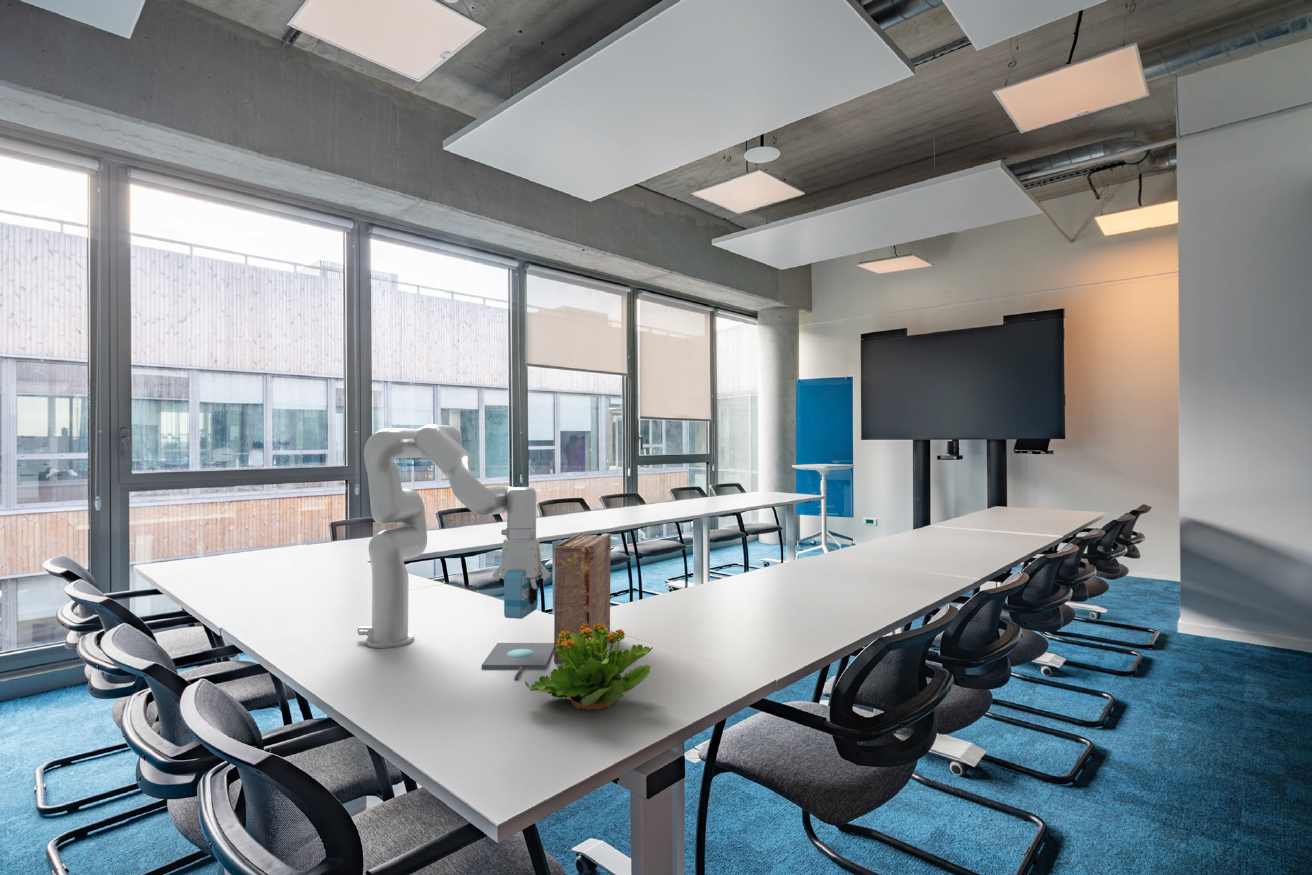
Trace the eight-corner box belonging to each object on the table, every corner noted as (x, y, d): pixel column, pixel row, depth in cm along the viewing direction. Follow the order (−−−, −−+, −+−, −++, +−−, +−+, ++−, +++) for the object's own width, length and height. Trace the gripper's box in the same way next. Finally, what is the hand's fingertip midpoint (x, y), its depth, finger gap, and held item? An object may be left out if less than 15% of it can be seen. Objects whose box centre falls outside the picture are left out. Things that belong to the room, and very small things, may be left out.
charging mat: (473, 680, 156) (473, 675, 156) (497, 646, 182) (497, 642, 182) (541, 680, 156) (541, 676, 156) (555, 646, 182) (555, 642, 182)
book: (579, 634, 193) (580, 532, 194) (610, 636, 192) (611, 533, 192) (553, 663, 168) (554, 546, 168) (588, 665, 167) (589, 547, 167)
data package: (520, 620, 167) (520, 572, 167) (503, 619, 168) (503, 572, 168) (537, 608, 178) (538, 564, 178) (522, 607, 179) (522, 563, 179)
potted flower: (577, 674, 160) (578, 602, 161) (667, 689, 151) (668, 613, 151) (518, 713, 137) (518, 629, 137) (620, 733, 128) (621, 643, 128)
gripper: (485, 536, 169) (485, 606, 169) (552, 536, 169) (552, 606, 169) (492, 532, 177) (491, 599, 177) (556, 532, 177) (555, 599, 177)
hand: (521, 602), depth 173 cm, fingers closed on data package, 5 cm apart
